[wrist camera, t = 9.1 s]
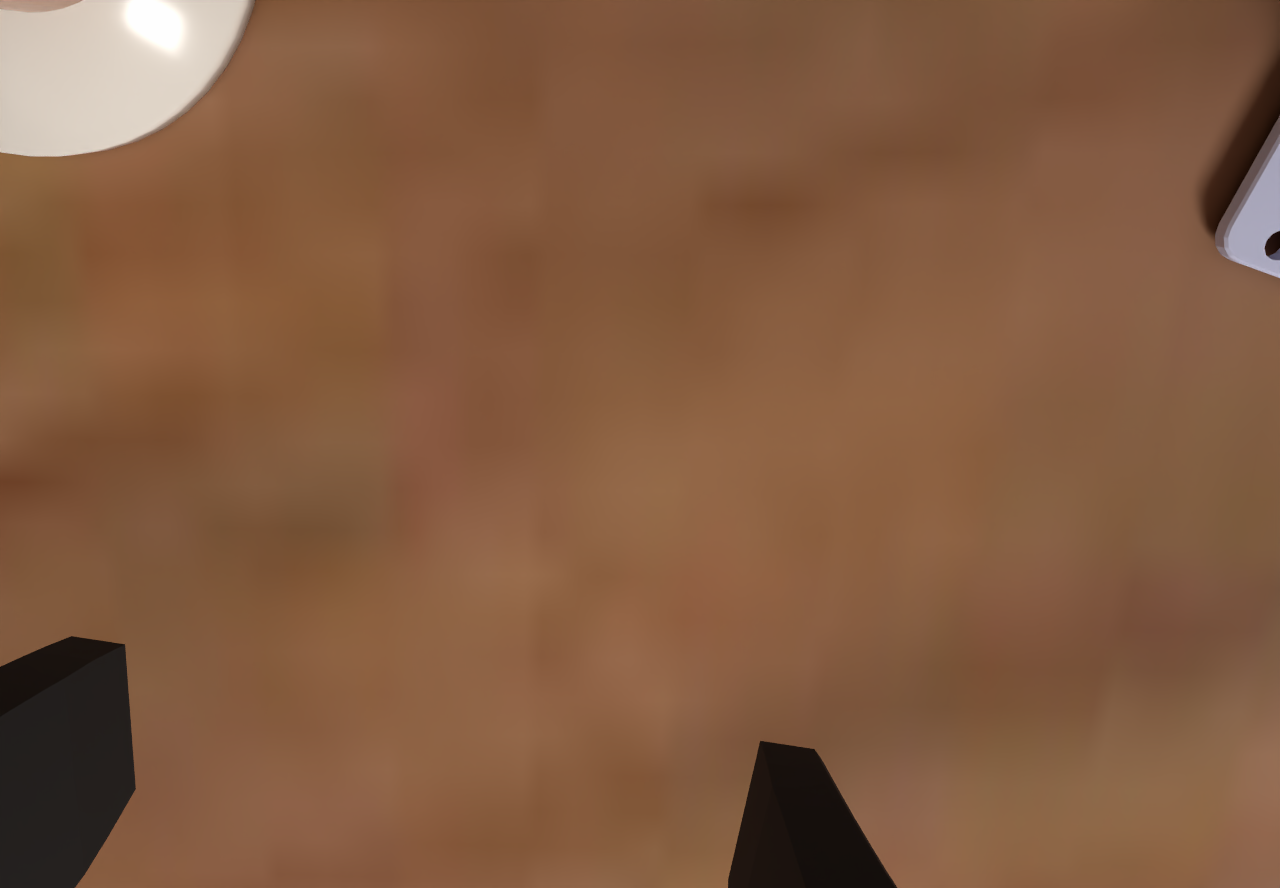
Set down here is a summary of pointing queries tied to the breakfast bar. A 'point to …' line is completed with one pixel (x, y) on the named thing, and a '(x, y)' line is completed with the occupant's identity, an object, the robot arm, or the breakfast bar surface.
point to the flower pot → (35, 5)
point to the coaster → (109, 70)
